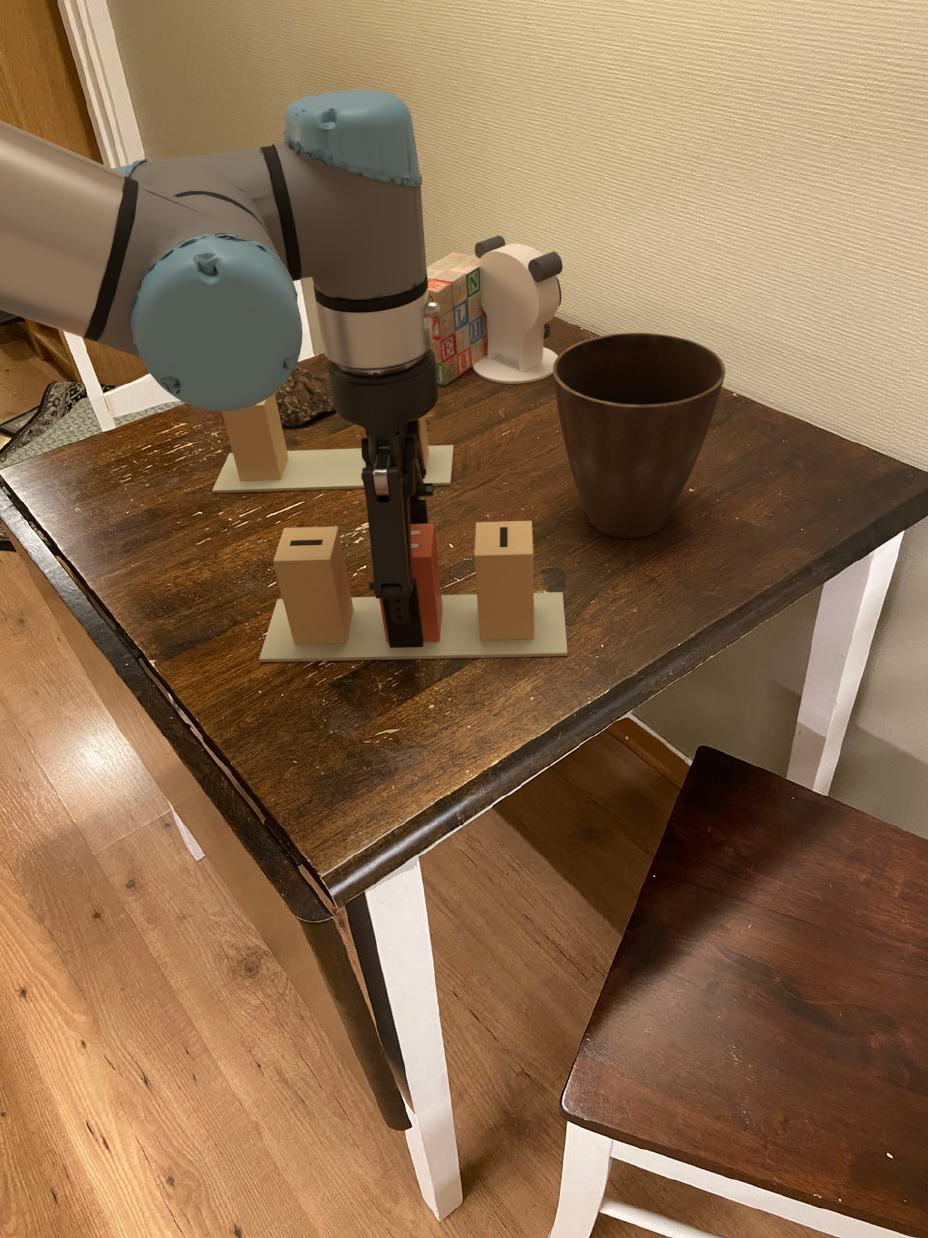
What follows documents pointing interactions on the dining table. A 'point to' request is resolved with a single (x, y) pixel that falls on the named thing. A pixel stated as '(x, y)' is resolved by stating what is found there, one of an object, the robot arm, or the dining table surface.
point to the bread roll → (303, 397)
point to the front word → (471, 624)
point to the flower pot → (634, 424)
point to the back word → (301, 458)
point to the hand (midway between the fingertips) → (412, 601)
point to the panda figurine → (517, 310)
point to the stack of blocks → (457, 315)
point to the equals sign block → (425, 581)
